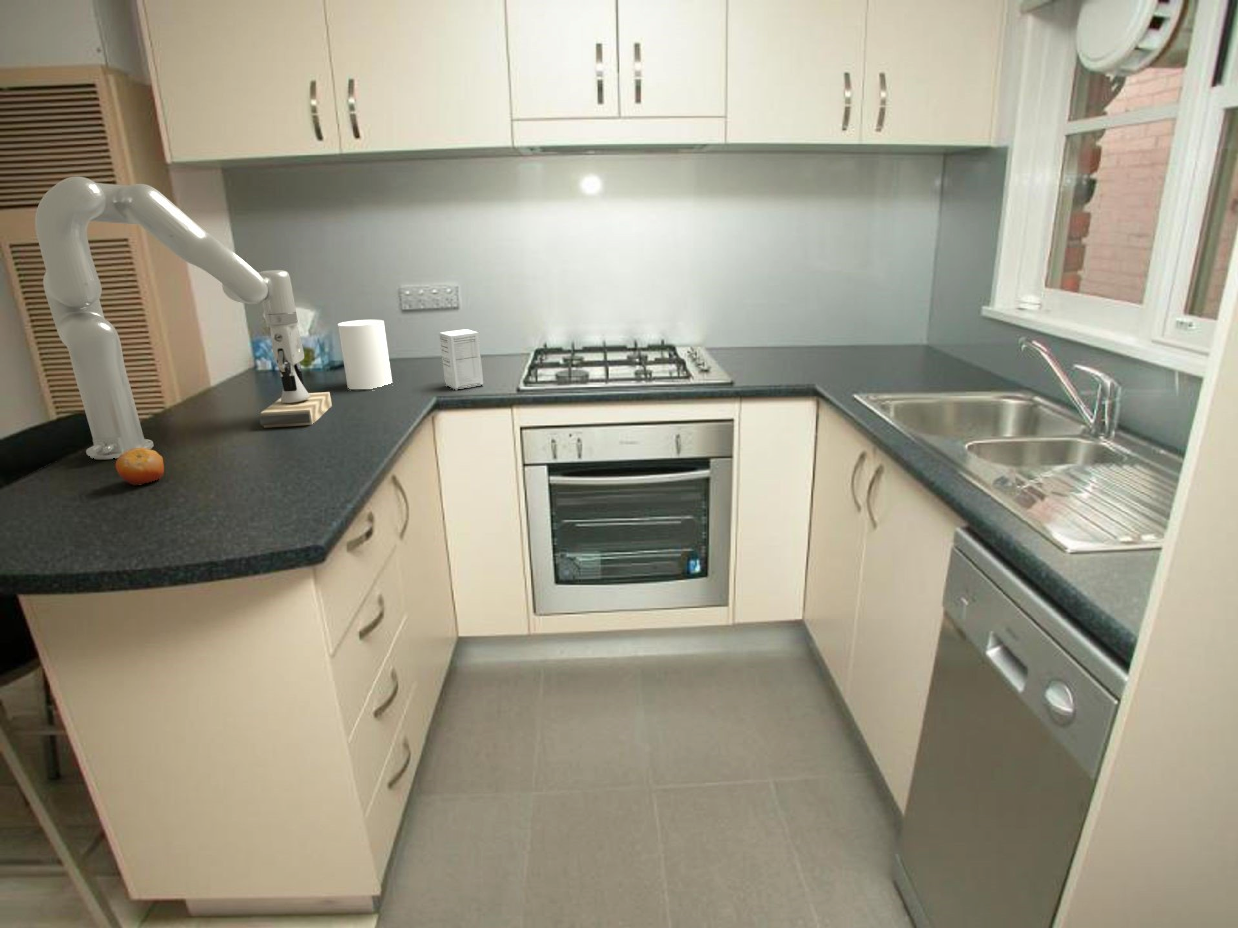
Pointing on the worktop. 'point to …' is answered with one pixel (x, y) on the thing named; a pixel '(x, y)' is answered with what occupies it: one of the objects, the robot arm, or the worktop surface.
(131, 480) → the fruit
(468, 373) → the supplement box
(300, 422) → the zigzag patterned box
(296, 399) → the flask
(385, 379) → the canister
